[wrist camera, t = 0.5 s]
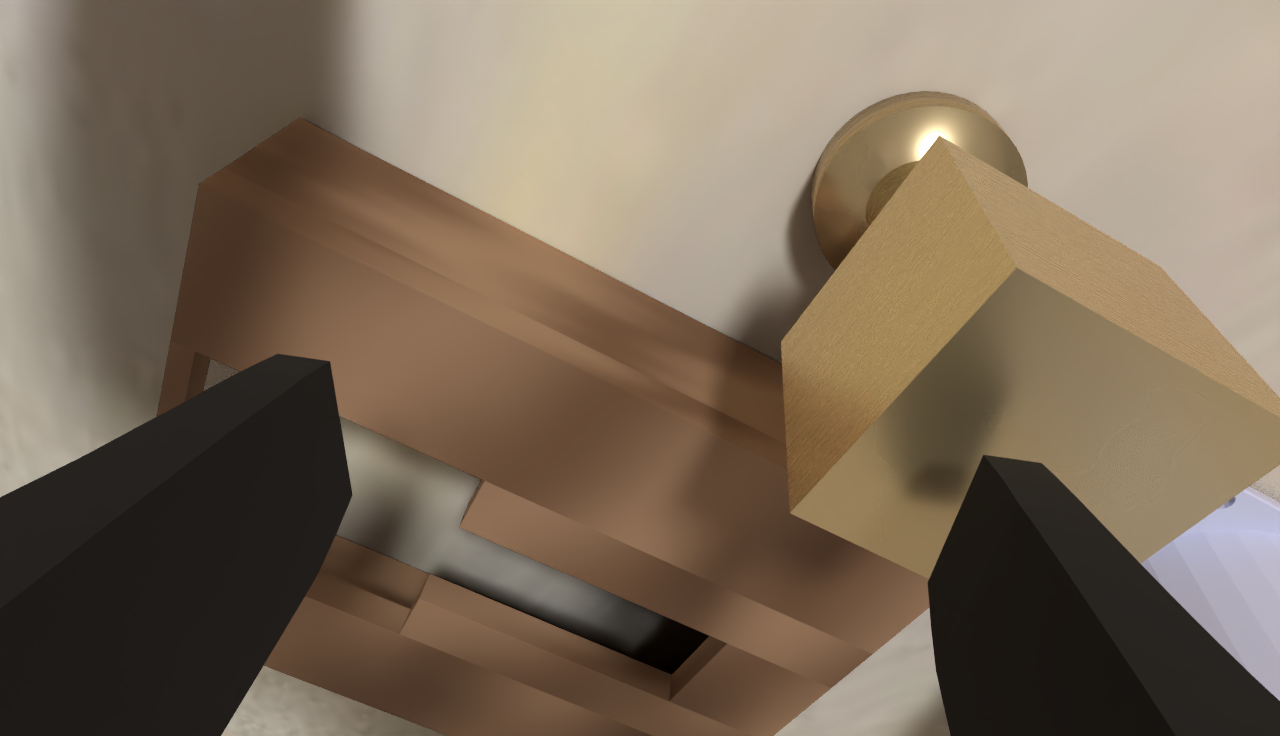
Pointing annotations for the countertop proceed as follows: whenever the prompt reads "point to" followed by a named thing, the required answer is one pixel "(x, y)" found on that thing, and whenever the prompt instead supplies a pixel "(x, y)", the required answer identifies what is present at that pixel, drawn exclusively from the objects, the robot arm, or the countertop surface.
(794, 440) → the brass peg
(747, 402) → the keyhole board
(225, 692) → the robot arm
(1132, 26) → the countertop surface
